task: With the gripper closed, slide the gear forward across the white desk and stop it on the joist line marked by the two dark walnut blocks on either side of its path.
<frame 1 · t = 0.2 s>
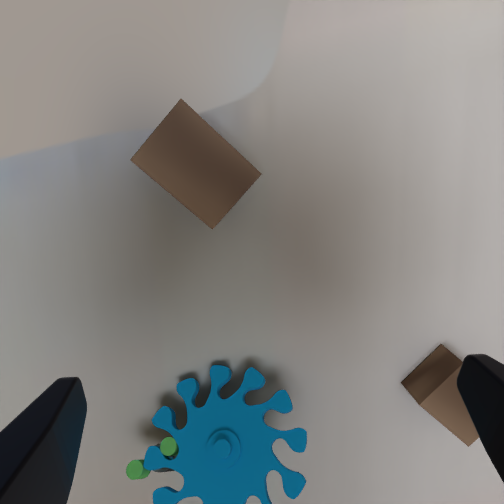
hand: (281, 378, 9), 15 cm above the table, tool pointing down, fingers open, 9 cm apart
joist marks: (335, 287, 25), on the table
gear: (216, 408, 27), on the table
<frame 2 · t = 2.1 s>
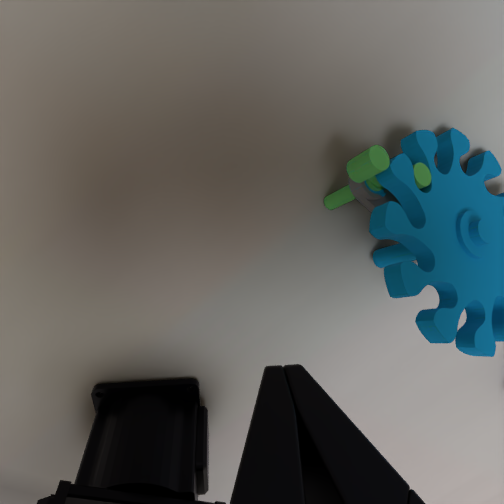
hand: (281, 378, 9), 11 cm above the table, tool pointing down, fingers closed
gear: (411, 198, 20), on the table
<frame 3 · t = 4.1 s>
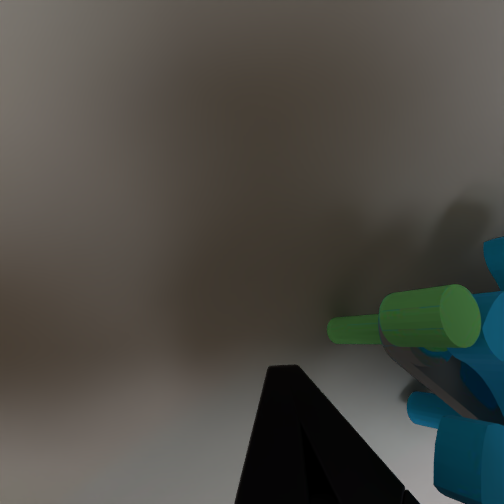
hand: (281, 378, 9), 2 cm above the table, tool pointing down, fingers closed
gear: (476, 317, 12), on the table, touching gripper
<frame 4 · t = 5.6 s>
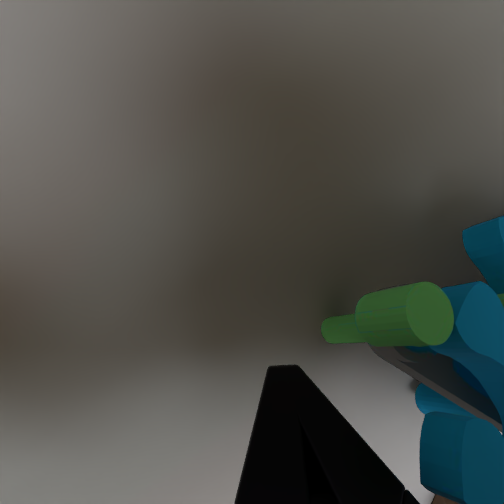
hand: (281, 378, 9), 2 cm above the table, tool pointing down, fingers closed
gear: (476, 301, 11), on the table, touching gripper
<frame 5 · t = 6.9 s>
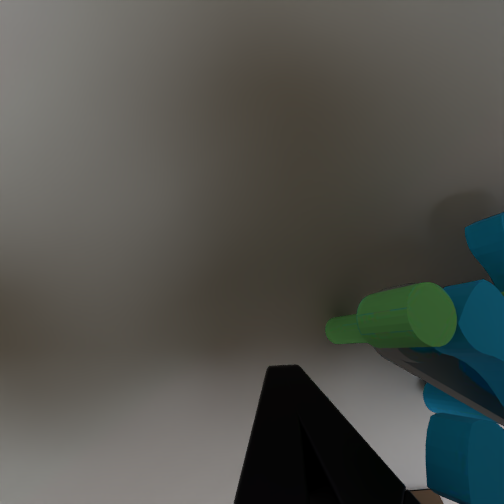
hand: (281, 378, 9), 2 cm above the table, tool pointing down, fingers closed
joist marks: (449, 314, 11), on the table
gear: (483, 297, 11), on the table, touching gripper
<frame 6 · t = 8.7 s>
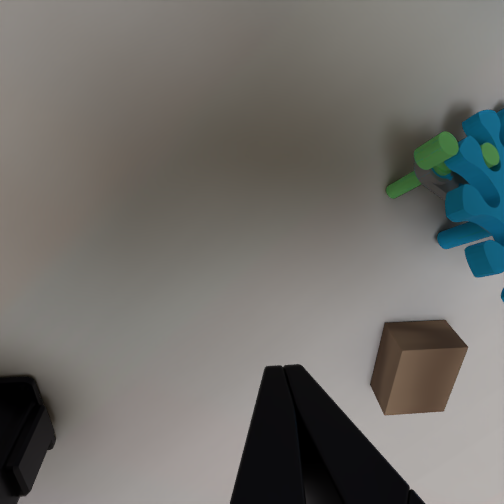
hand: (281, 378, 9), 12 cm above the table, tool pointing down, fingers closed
joist marks: (454, 185, 20), on the table
gear: (471, 177, 20), on the table
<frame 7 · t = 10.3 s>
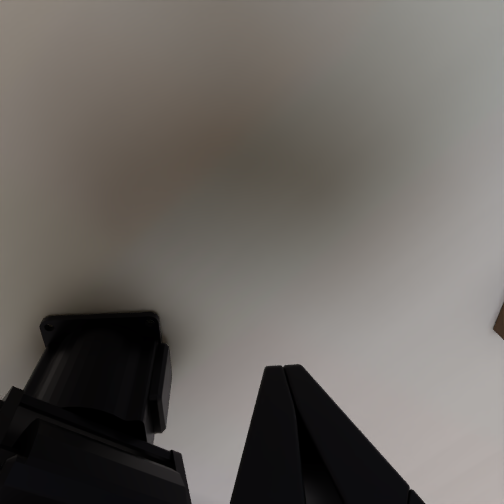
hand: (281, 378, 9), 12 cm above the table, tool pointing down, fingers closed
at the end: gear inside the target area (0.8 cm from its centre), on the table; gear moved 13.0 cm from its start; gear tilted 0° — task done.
